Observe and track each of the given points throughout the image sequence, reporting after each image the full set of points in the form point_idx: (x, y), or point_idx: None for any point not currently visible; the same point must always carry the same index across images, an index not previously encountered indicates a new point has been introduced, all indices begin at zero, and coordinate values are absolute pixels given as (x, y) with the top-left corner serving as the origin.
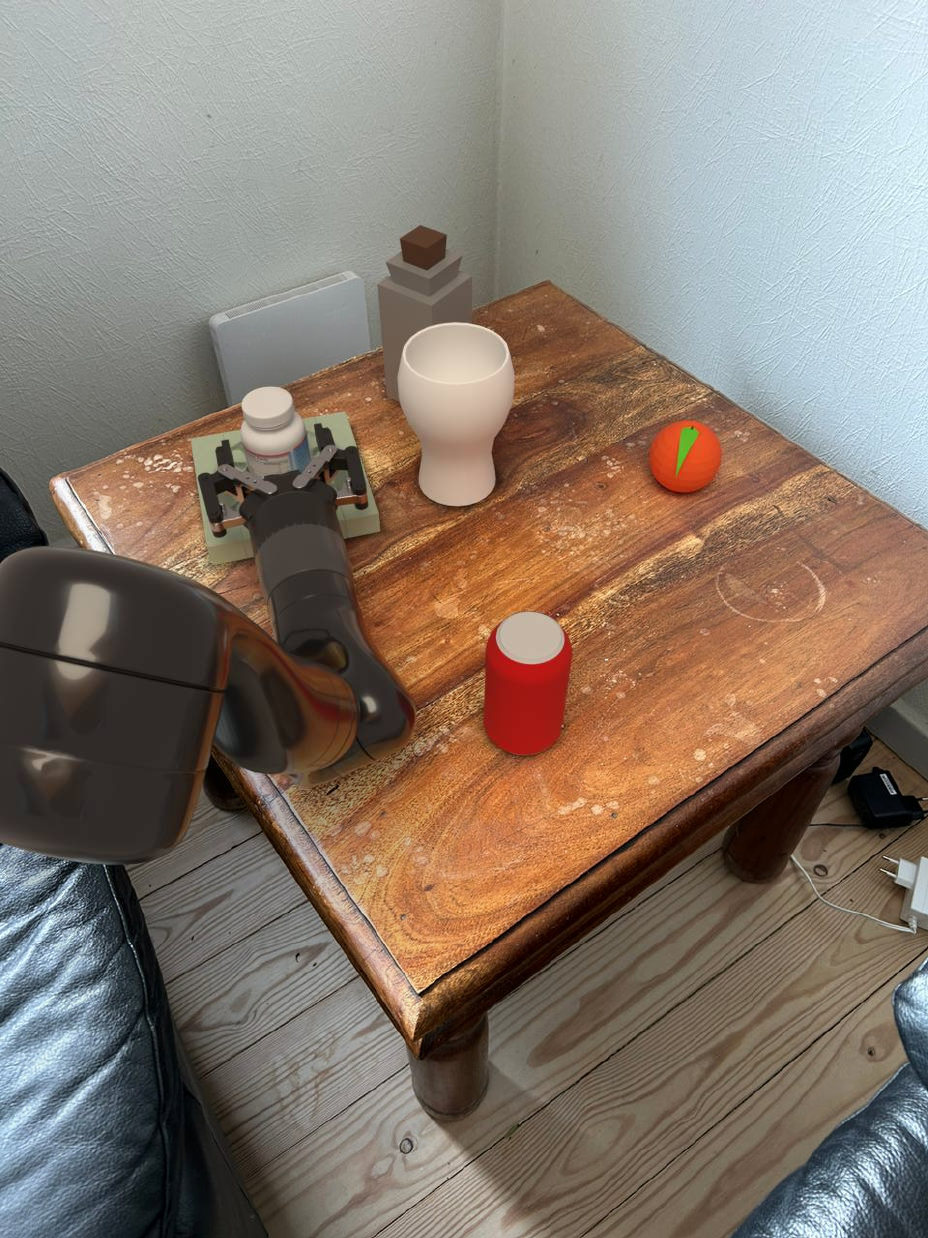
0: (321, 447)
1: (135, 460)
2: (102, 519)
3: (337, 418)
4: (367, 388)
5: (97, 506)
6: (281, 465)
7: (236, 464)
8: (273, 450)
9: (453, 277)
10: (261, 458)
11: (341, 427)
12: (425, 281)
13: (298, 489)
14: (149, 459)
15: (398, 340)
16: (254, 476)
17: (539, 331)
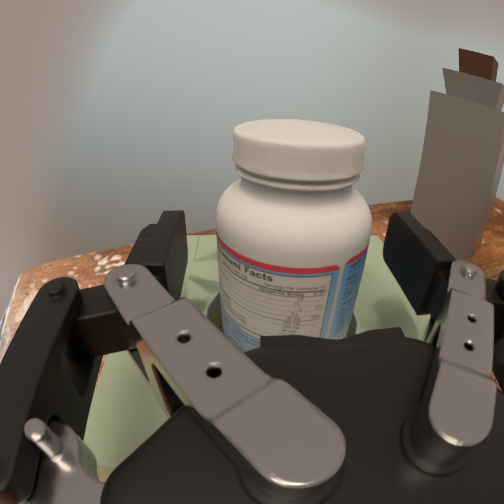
0: (439, 263)
1: (92, 256)
2: (13, 321)
3: (369, 242)
4: (381, 224)
5: (21, 301)
6: (305, 300)
7: (203, 283)
8: (297, 253)
9: (500, 109)
10: (256, 272)
11: (379, 254)
12: (495, 87)
13: (456, 452)
14: (106, 258)
15: (445, 161)
16: (218, 337)
17: (498, 211)
